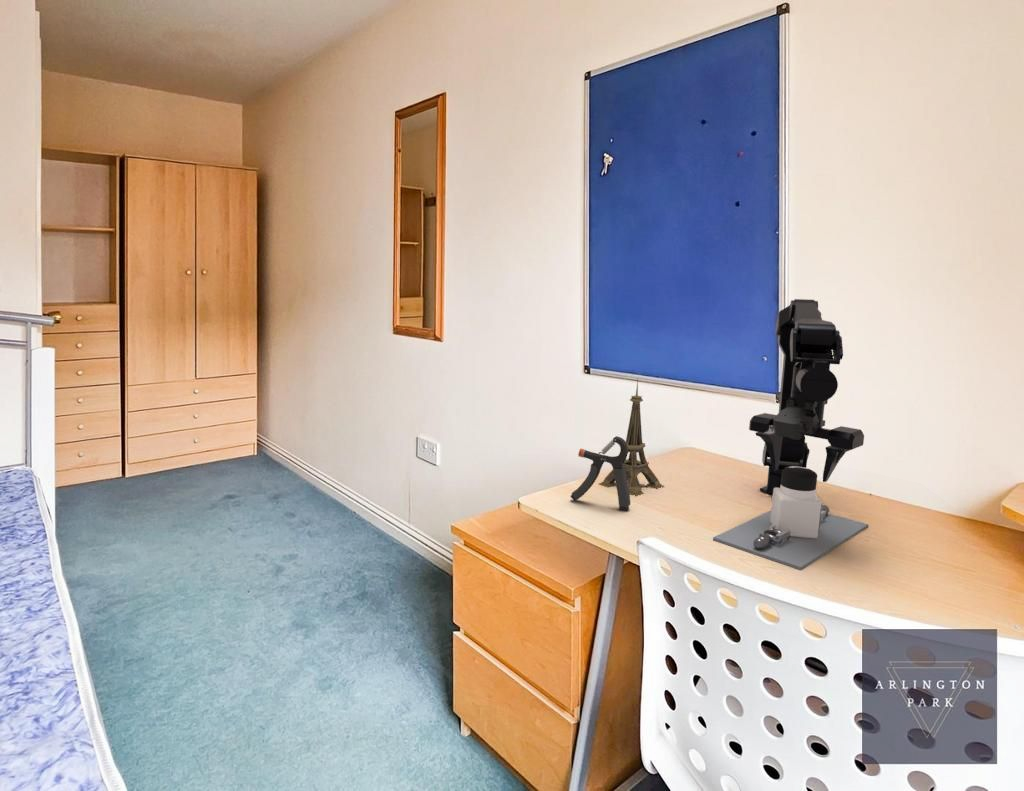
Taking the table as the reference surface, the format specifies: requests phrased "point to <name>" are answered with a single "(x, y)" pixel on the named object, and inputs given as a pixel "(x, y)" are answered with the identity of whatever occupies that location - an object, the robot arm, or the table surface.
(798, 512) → the medicine bottle
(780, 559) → the rubber mat
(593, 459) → the hand grip strengthener
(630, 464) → the eiffel tower
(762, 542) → the chain ends
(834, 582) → the table surface
